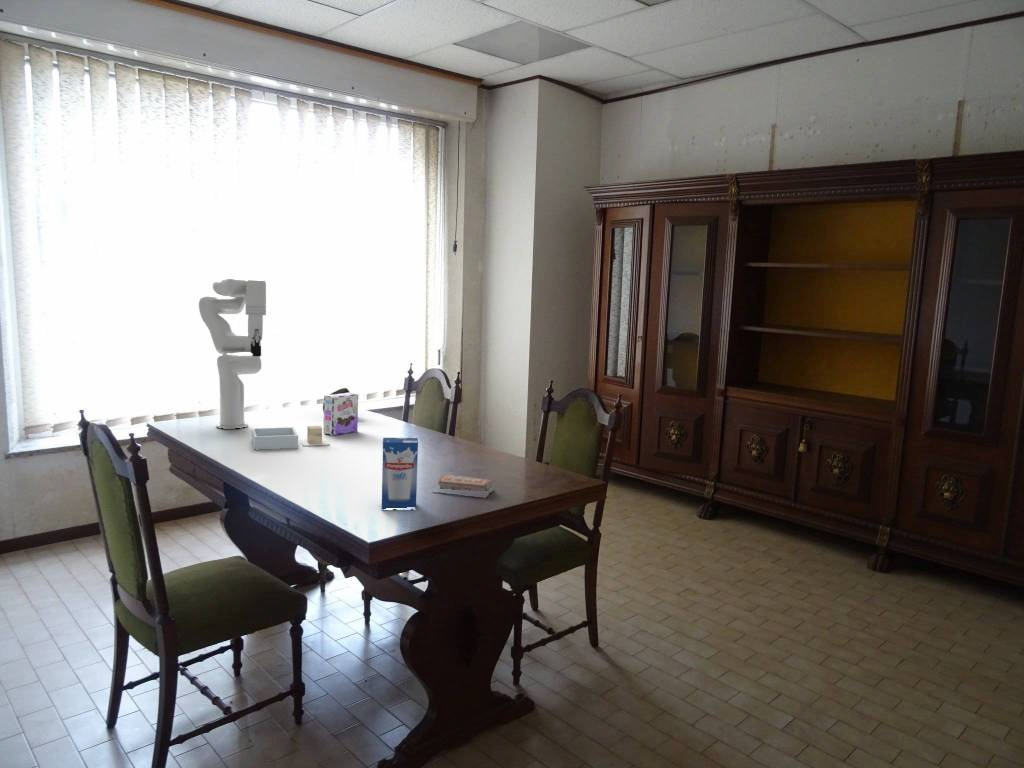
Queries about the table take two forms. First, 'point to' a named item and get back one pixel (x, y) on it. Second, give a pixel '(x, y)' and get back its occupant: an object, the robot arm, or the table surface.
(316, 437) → the birch block
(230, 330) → the robot arm
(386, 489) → the milk carton
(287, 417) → the table surface
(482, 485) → the packaged product
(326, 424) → the candy box
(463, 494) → the table surface
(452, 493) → the table surface
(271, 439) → the square storage bin
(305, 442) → the mat
